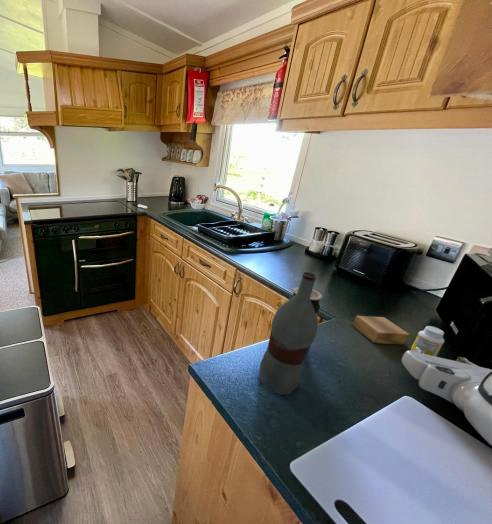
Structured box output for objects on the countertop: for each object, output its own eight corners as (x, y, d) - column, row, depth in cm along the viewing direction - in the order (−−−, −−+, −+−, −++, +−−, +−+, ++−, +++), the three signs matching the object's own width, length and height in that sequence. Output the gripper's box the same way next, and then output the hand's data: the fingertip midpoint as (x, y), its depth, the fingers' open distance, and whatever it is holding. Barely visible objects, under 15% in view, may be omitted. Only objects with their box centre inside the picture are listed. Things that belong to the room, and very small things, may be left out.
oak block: (379, 326, 102) (384, 317, 101) (404, 344, 93) (409, 334, 91) (352, 325, 102) (356, 315, 100) (374, 343, 92) (378, 332, 91)
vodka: (249, 371, 76) (277, 266, 65) (279, 367, 78) (311, 265, 67) (272, 399, 68) (308, 284, 57) (304, 394, 70) (345, 283, 59)
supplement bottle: (420, 352, 89) (435, 324, 85) (437, 365, 84) (454, 336, 80) (403, 351, 89) (417, 323, 85) (419, 364, 84) (434, 334, 80)
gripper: (537, 394, 63) (493, 356, 76) (423, 366, 70) (399, 335, 82) (522, 414, 66) (481, 374, 78) (412, 386, 72) (390, 353, 84)
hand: (438, 354), depth 80 cm, fingers open, 8 cm apart
